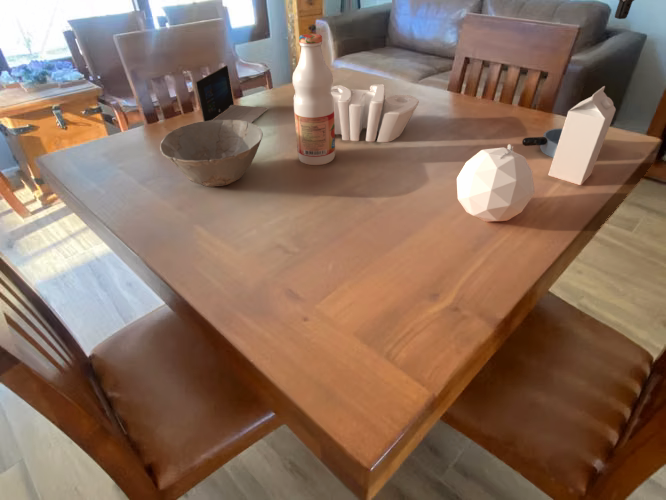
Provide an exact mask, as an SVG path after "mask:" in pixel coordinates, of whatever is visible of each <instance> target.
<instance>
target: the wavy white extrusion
mask: <svg viewBox="0 0 666 500" xmlns="http://www.w3.org/2000/svg"><path fill="white" fill-rule="evenodd" d="M295 94H296V93H294V95H293V99H294V98H295ZM331 94H332V96H333V100H334V125H335V135H341V140H342V141H353V142H359V141H360V136H361V135H360V134H361V132H362V131H363V129H366V134H365V142H369V143H370V142H376V143H389V142H392V141H394V140H396V139H398V138H399V137H400V136H401V135H402V133H403V132H404V130H405V128H406V126H407V124H408V123H409V121H410V119H411V117H412V116H413V114H414V112H415V111H416V109H417V107H418V105H419V103H420V100H419V99H418V98H417V97H415V96H412V95H407V94H394V95H390V96H387V97H386V85H385V84H383V83H381V84H378V83H377V84H371V85H370V86H369V89H355V88H354V89H353V88H351V89H350V88H348V87H346V86H344V85H341V84H339V85H332V88H331ZM376 139H377V140H376Z"/></svg>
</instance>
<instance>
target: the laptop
mask: <svg viewBox="0 0 666 500" xmlns="http://www.w3.org/2000/svg"><path fill="white" fill-rule="evenodd" d="M231 85H232V84H231V79H230V73H229V67H228V65H227V64H226V65H224V66H222V67H220V68H218V69H216V70H215V71H213V72H211V73H209V74H208V75H206V76H204V77H202V78H200V79H199V80H196V81H195V87H196V92H197V98H198V102H199V106H200V110H201V116H202V122H203V121H210V120H242V121H246V122H250V123H252V124H253V122H254V121H256V120H257V119H258V118H259V117H260V116H261V115H263V114H264V113H265V112H267V110H269V107H264V106H263V107H262V106H250V105H241V104H240V105H238V104H234V96H233V91H232V86H231Z"/></svg>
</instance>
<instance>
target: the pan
mask: <svg viewBox="0 0 666 500" xmlns="http://www.w3.org/2000/svg"><path fill="white" fill-rule="evenodd" d="M562 130H563V127H561V128H552V129H548V130H546V131H545V132H543V135H542V136H530V137H524V138H523V139H522V140H521V141H522V142H521V143H522V145H523V146H525V147H532V146H534V147H535V146H539V147H540V151H541V152H542V154H544V155H546V156H548V157H550V158H554V155H555V152H556V149H557V146H558V142H559V139H560V136H561V133H562Z"/></svg>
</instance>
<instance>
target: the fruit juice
mask: <svg viewBox="0 0 666 500" xmlns="http://www.w3.org/2000/svg"><path fill="white" fill-rule="evenodd" d="M298 42H299V43H298V44H299V46H300V54H299V59H298V62H297V66H296V67H295V68H294V70H293V73H292V80H291V81H292V85H293V90H294V92H295V93H296V94H295V93H294V94H295V98H293V113H294V125H295V126H294V127H295V138H296V139H295V140H296V150H297V151H296V153H297V158H298V160H299V162H301V163H303V164H305V165H309V166H323V165H326V164H329V163H331V162H333V161H334V159H335V158H336V157H335V156H336V134H335V125H334V100H333V96H332V94H331V88H332V87H333V83H334V78H333V73H332V70H331V68H329V66H328V65H327V63H326V60H325V59H324V55H323V51H322V45H323V36H322V34H319V33H304V34H300V35H299V37H298Z"/></svg>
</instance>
